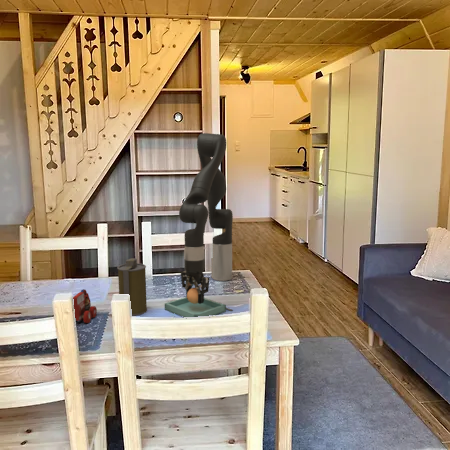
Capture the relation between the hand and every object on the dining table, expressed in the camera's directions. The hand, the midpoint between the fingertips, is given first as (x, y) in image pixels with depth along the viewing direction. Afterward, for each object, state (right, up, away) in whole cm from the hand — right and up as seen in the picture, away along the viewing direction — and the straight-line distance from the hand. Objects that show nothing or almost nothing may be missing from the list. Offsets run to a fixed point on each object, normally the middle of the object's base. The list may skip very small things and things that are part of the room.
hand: (195, 301), depth 166 cm
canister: (-23, -4, 0) cm, 24 cm away
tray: (0, -4, +1) cm, 4 cm away
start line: (+7, -3, +7) cm, 10 cm away
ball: (0, +2, 0) cm, 2 cm away
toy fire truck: (-40, -5, -7) cm, 41 cm away
